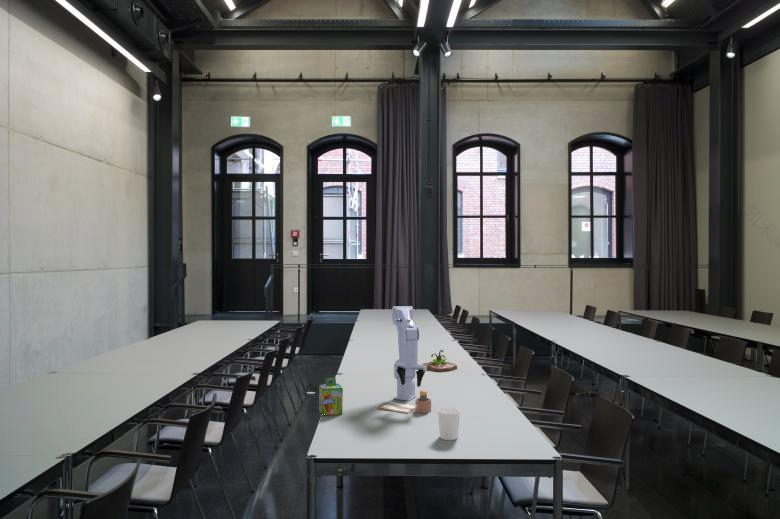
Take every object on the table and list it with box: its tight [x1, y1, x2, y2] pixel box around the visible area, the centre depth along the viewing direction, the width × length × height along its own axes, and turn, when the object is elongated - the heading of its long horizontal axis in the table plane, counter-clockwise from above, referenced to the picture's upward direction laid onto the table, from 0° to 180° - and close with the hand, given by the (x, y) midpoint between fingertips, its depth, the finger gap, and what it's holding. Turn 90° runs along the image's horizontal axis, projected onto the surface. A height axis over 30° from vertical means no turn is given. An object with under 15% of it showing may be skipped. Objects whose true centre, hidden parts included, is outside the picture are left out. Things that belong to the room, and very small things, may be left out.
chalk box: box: [318, 377, 344, 417], centre depth 236 cm, size 9×9×15 cm
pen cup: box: [415, 397, 432, 414], centre depth 238 cm, size 6×6×5 cm
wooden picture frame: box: [377, 401, 416, 414], centre depth 243 cm, size 12×15×1 cm
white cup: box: [438, 407, 461, 441], centre depth 204 cm, size 8×8×10 cm
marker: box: [419, 390, 428, 401], centre depth 238 cm, size 3×3×8 cm
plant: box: [421, 349, 458, 373], centre depth 329 cm, size 20×20×11 cm
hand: (410, 385), depth 242 cm, fingers open, 7 cm apart
